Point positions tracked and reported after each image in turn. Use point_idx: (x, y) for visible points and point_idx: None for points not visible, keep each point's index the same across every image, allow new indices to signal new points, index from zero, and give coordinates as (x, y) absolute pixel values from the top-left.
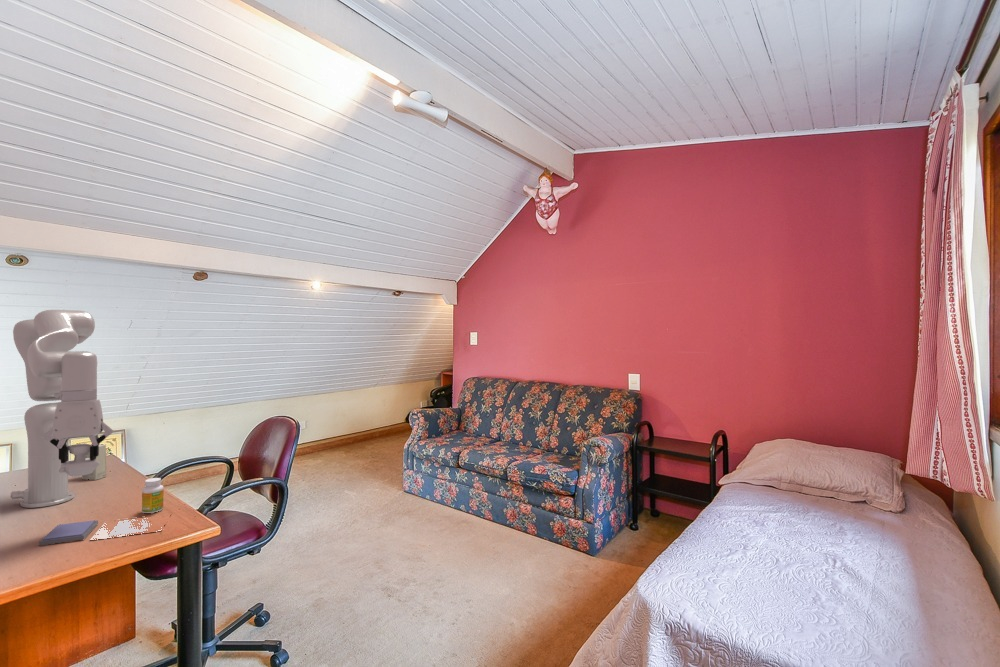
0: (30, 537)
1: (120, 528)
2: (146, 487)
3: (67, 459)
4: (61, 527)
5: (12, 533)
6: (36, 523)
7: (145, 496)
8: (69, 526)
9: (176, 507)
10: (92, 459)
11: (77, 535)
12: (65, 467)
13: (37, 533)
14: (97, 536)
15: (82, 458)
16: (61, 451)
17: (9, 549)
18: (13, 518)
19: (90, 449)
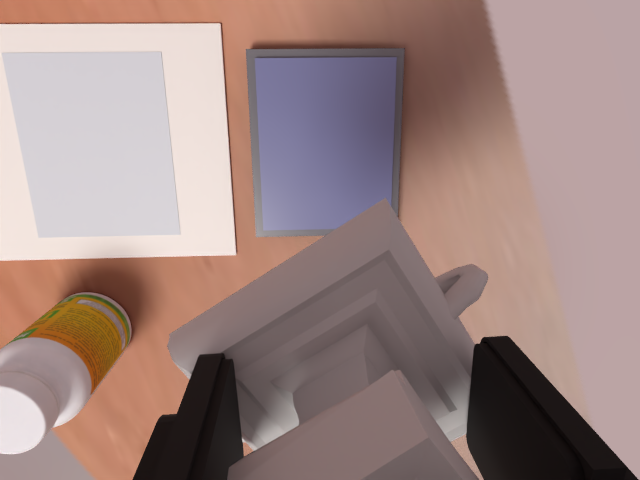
0: (462, 174)
1: (141, 134)
2: (50, 377)
3: (472, 434)
4: (369, 185)
5: (535, 246)
6: (485, 328)
7: (70, 335)
8: (341, 187)
9: (6, 337)
10: (203, 356)
11: (273, 59)
12: (439, 289)
13: (450, 212)
14: (203, 66)
15: (317, 397)
16: (587, 431)
17: (496, 59)
18: (573, 406)
19: (199, 459)
